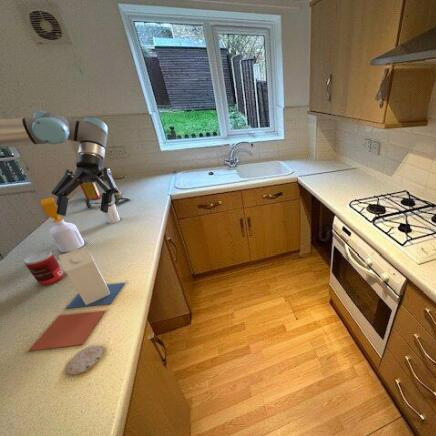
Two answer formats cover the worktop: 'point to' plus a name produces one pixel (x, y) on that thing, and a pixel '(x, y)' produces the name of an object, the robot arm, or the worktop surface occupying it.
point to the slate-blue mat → (105, 300)
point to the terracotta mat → (68, 331)
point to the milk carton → (84, 275)
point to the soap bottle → (62, 229)
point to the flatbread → (84, 359)
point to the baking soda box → (90, 190)
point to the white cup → (112, 214)
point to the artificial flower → (116, 195)
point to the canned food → (44, 267)
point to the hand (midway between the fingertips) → (82, 213)
